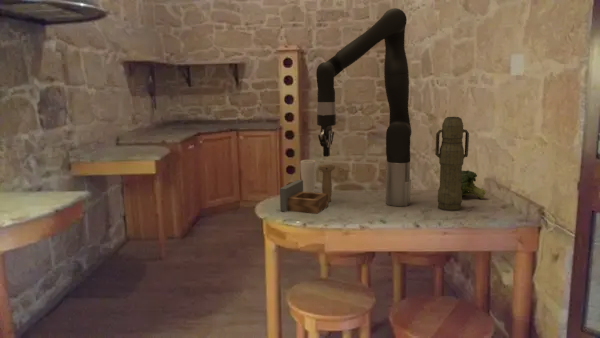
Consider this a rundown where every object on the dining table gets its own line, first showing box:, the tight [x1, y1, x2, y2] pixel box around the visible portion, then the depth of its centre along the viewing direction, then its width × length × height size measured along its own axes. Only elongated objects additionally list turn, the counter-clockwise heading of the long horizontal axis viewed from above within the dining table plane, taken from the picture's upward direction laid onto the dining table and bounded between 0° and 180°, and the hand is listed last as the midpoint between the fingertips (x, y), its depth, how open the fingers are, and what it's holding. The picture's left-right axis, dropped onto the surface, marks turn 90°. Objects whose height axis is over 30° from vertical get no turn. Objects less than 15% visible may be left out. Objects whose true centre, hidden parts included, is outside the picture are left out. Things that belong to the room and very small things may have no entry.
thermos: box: [435, 116, 470, 212], centre depth 181 cm, size 9×12×35 cm
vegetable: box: [461, 170, 487, 200], centre depth 200 cm, size 12×13×15 cm
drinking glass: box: [299, 159, 317, 193], centre depth 209 cm, size 7×7×15 cm
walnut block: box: [287, 191, 329, 214], centre depth 187 cm, size 12×12×5 cm
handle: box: [318, 164, 336, 203], centre depth 196 cm, size 5×6×15 cm
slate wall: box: [279, 179, 303, 213], centre depth 190 cm, size 2×17×9 cm, turn 157°
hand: (326, 156), depth 194 cm, fingers closed
